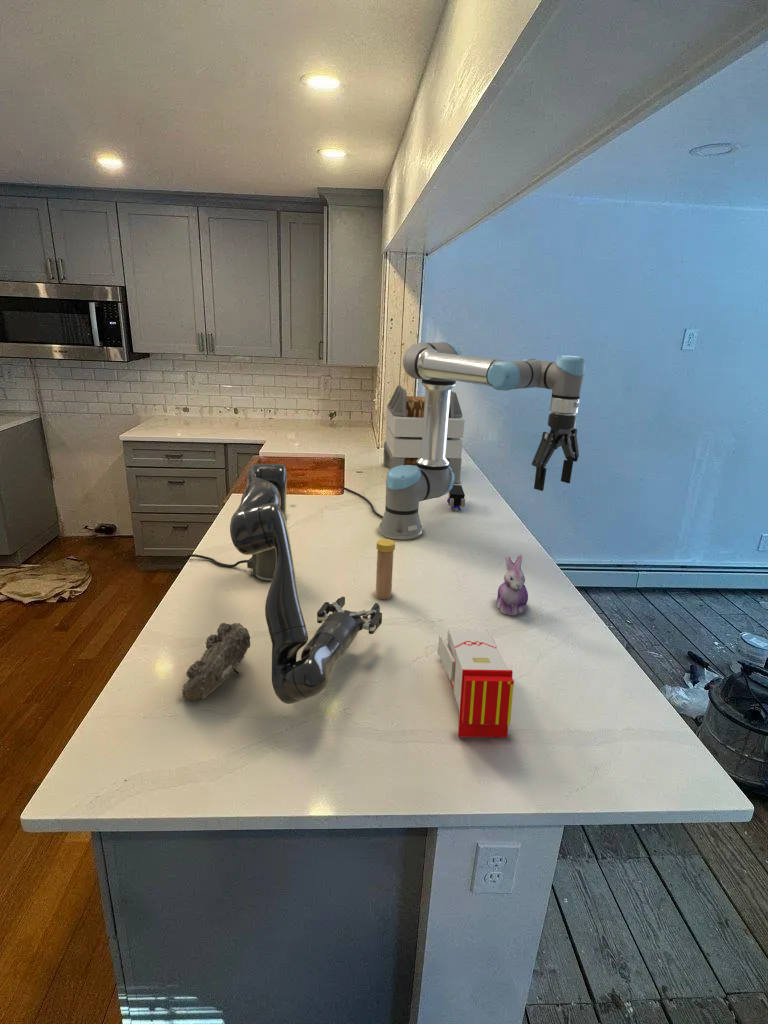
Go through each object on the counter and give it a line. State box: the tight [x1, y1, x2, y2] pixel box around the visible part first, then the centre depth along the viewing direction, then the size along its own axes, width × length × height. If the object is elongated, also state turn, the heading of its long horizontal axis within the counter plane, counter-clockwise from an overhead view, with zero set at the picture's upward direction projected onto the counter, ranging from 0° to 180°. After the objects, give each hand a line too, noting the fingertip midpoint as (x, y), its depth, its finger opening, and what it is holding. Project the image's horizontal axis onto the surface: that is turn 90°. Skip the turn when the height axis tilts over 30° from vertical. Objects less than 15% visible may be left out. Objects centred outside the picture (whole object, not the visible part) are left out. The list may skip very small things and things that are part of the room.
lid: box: [376, 538, 396, 552], centre depth 152 cm, size 5×5×2 cm
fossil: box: [181, 622, 251, 702], centre depth 119 cm, size 22×10×15 cm
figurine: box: [496, 554, 529, 616], centre depth 150 cm, size 9×10×15 cm
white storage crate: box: [383, 384, 465, 484], centre depth 268 cm, size 34×33×41 cm
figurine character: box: [446, 484, 466, 511], centre depth 229 cm, size 7×8×15 cm
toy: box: [437, 628, 515, 738], centre depth 117 cm, size 12×13×30 cm
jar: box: [375, 549, 395, 600], centre depth 154 cm, size 4×4×16 cm
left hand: (360, 603), depth 136 cm, fingers open, 8 cm apart
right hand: (552, 485), depth 166 cm, fingers open, 13 cm apart
